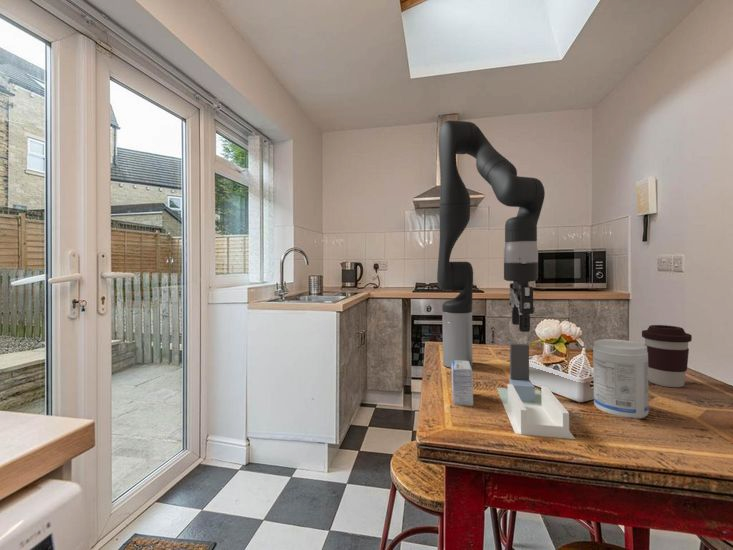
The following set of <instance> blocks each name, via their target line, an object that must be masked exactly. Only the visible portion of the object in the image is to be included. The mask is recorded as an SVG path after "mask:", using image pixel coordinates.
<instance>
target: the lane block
mask: <svg viewBox="0 0 733 550" xmlns="http://www.w3.org/2000/svg"><path fill="white" fill-rule="evenodd" d="M508 381H509V382H508V384H512V385H513V386H514V388H515V390H516V392H517V394H518V395H519V397H520V399H521V401H525V402H535V390H536V389H535V387H536V386H535V385H534V384H533V383H532V381H531V380H530V344H528V343H515V342H514V343H512V342H510V343H509V380H508Z"/></svg>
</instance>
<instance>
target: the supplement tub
mask: <svg viewBox="0 0 733 550" xmlns="http://www.w3.org/2000/svg"><path fill="white" fill-rule="evenodd" d="M644 344H645V343H642V342H637V341H632V340H624V339H615V338H614V339H612V338H610V339H609V338H607V339H606V338H605V339H604V338H603V339H597V340H595V341H593V348H592V349H593V351H592V354H593V356H592V359H593V405H594V406H595V408H596V409H599V410H600V411H601V412H602V411H603V412H605V413H608V414H610V415H614V416H618V417H623V418H631V419H632V418H634V419H637V420H640V419H644V418H646V417H647V416H648V414H649V380H648V352H647V346H646V345H644Z"/></svg>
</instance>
